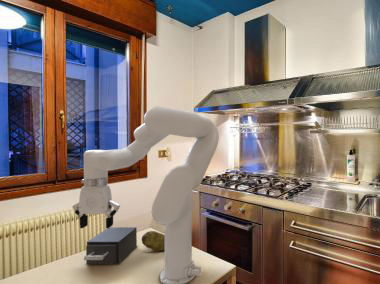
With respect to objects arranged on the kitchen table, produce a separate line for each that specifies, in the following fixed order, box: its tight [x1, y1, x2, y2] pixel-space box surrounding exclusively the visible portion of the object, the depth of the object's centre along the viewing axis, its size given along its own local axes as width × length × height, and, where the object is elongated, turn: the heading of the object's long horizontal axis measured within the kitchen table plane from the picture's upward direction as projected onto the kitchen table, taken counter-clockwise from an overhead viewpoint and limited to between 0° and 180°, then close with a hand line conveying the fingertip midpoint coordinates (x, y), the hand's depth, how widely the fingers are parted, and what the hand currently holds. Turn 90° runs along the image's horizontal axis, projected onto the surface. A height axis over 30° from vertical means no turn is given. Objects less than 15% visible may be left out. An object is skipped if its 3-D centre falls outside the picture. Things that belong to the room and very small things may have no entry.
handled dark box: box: [83, 244, 117, 265], centre depth 93 cm, size 18×11×7 cm, turn 1°
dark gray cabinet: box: [86, 226, 138, 265], centre depth 97 cm, size 15×13×9 cm
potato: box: [141, 230, 165, 252], centre depth 102 cm, size 8×13×8 cm, turn 81°
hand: (96, 227), depth 87 cm, fingers open, 9 cm apart
